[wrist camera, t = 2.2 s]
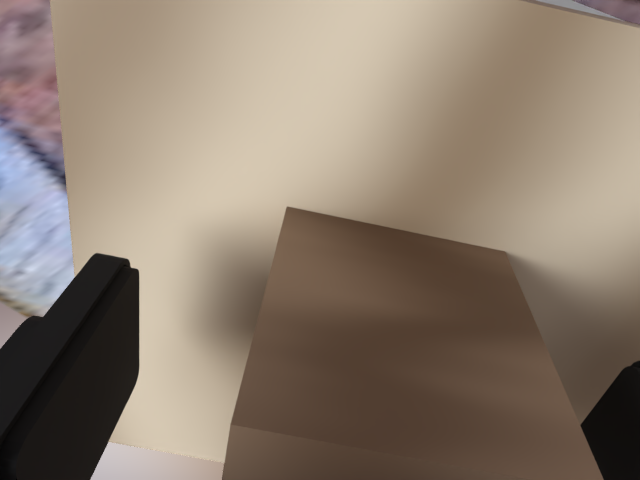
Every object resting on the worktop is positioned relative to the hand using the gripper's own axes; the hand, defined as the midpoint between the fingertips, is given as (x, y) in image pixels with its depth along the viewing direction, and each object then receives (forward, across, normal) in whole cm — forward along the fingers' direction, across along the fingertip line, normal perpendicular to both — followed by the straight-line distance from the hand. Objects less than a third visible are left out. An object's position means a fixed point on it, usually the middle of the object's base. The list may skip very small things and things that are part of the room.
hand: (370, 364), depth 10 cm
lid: (+3, 0, 0) cm, 3 cm away
